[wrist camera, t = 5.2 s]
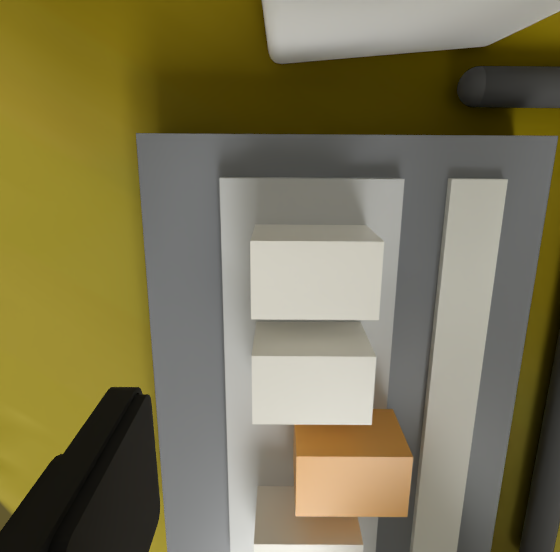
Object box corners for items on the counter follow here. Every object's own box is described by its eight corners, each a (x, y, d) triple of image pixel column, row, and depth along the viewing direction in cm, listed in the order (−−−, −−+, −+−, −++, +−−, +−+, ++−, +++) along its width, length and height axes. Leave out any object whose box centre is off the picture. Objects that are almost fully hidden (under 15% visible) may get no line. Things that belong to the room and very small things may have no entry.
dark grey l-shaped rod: (453, 69, 15) (467, 62, 14) (644, 70, 15) (675, 64, 14) (404, 554, 20) (412, 579, 19) (545, 555, 20) (561, 580, 19)
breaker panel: (158, 135, 16) (97, 129, 10) (515, 137, 16) (632, 133, 10) (182, 523, 20) (148, 657, 15) (461, 525, 20) (525, 659, 15)
